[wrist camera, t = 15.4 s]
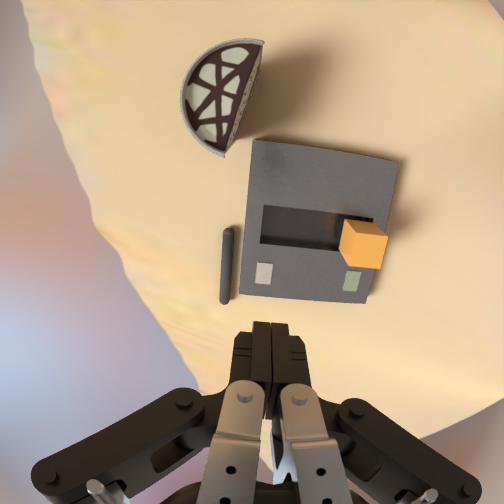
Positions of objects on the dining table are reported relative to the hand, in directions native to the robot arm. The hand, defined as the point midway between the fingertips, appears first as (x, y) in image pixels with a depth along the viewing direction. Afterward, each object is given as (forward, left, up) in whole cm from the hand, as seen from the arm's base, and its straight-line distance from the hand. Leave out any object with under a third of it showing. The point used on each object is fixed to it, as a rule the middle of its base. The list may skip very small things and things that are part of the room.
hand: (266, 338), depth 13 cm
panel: (+3, +7, -27) cm, 28 cm away
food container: (-12, -6, -27) cm, 30 cm away
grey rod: (+10, -4, -27) cm, 29 cm away
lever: (+3, +12, -27) cm, 30 cm away
